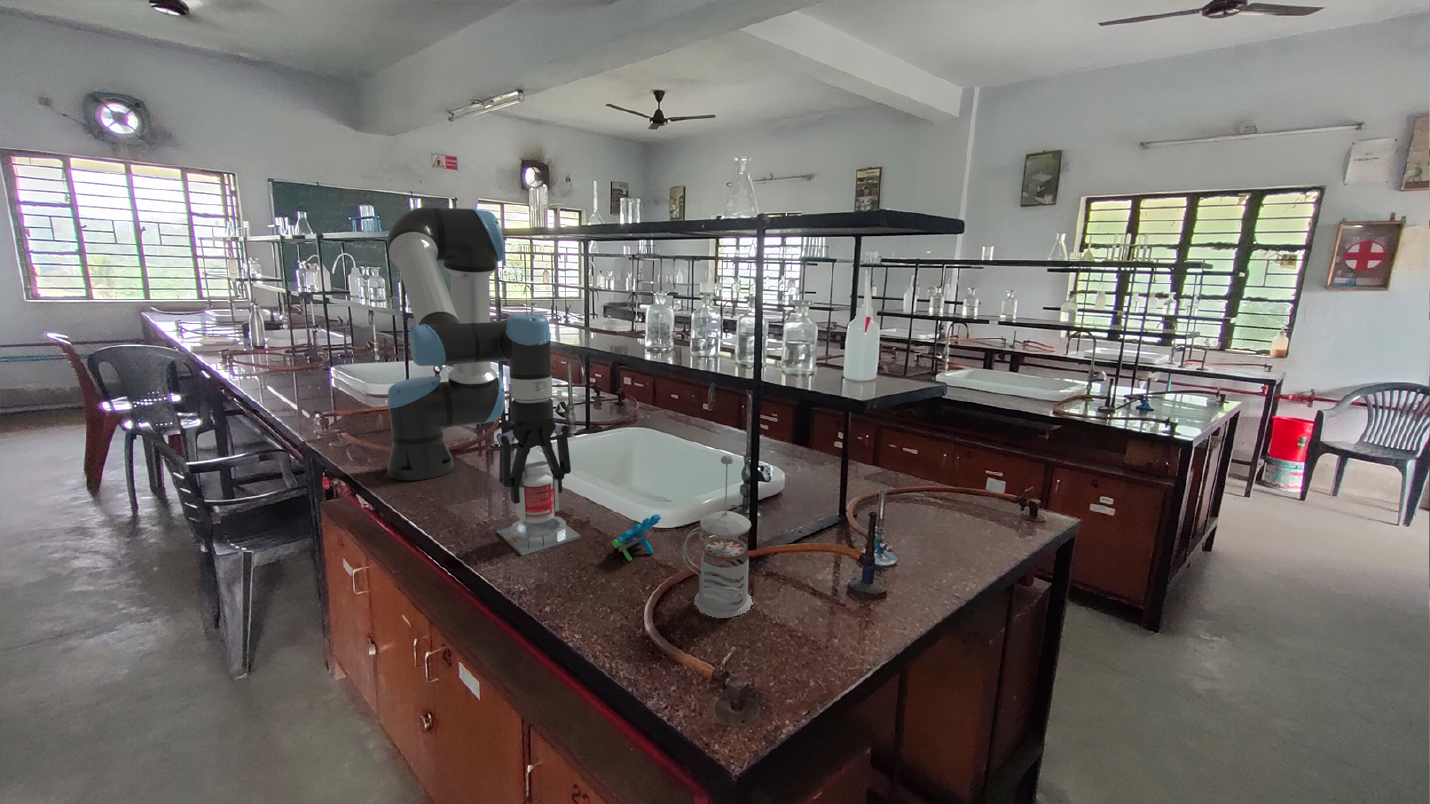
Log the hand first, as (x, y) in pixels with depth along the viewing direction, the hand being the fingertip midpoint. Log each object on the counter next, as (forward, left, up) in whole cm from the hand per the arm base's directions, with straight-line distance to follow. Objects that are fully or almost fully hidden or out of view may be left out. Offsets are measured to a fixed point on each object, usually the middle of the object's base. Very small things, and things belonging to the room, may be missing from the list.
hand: (538, 513), depth 122 cm
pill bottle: (0, 0, -1) cm, 1 cm away
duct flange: (0, 0, -5) cm, 5 cm away
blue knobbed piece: (+17, +12, -5) cm, 21 cm away
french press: (+40, +13, -5) cm, 42 cm away
